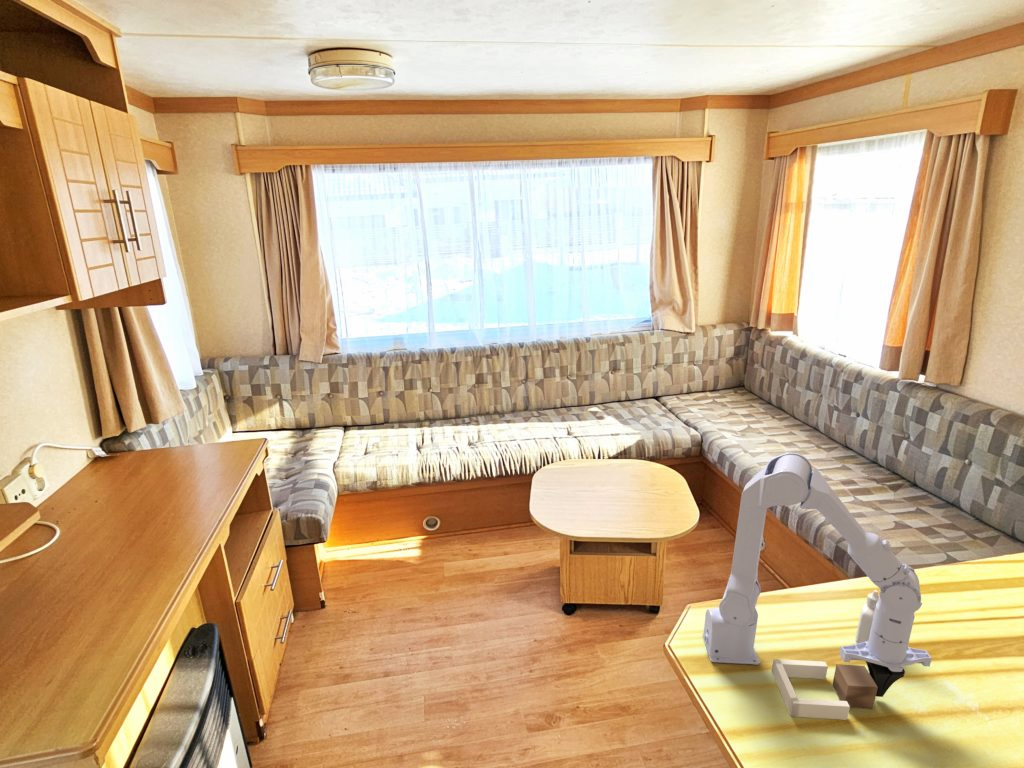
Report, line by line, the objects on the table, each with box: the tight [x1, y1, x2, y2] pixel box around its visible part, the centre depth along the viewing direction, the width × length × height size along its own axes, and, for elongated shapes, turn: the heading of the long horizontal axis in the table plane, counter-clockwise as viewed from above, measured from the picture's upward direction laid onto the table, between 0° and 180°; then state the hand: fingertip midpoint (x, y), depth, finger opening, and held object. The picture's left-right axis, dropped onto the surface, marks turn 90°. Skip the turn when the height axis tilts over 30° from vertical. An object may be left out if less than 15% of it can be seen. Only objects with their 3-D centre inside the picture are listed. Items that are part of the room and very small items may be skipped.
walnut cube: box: [831, 663, 878, 710], centre depth 108 cm, size 5×5×5 cm
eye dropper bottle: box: [855, 589, 880, 644], centre depth 120 cm, size 4×6×12 cm
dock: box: [771, 658, 851, 721], centre depth 109 cm, size 10×10×3 cm
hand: (876, 692), depth 108 cm, fingers closed
